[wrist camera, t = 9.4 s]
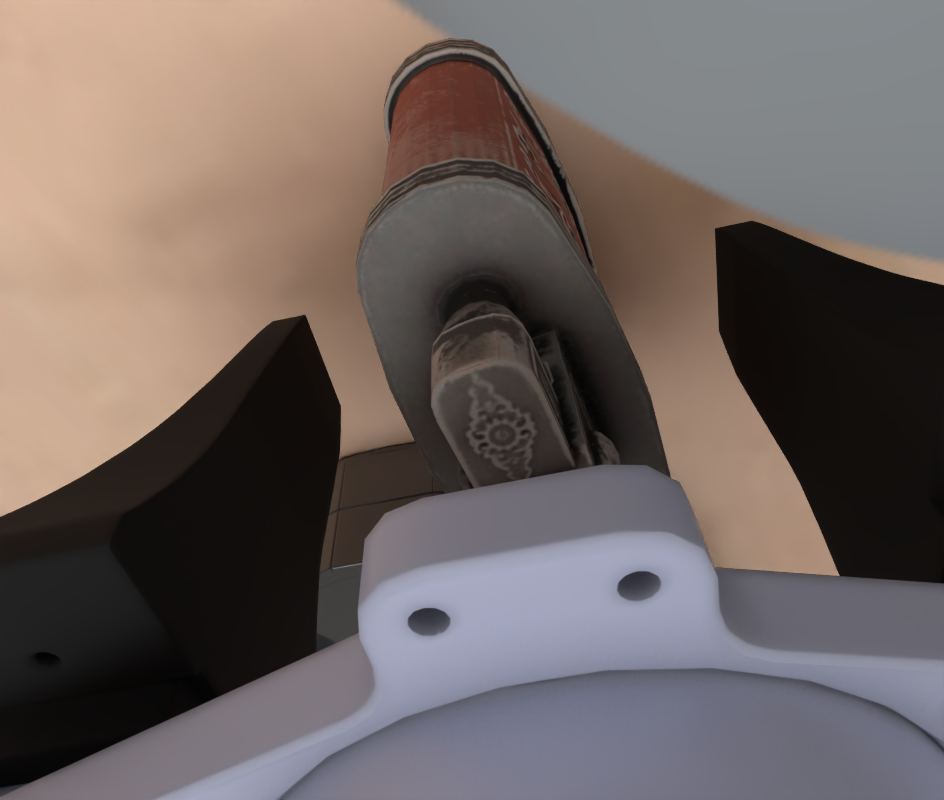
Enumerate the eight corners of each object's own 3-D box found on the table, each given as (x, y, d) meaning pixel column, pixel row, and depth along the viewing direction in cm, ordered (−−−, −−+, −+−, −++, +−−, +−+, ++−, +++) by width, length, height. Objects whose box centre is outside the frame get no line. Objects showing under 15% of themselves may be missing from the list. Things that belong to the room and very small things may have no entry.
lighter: (347, 80, 16) (255, 354, 8) (508, 7, 15) (594, 222, 7) (497, 388, 20) (539, 767, 12) (626, 342, 20) (762, 711, 11)
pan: (672, 391, 20) (716, 498, 17) (699, 719, 29) (732, 831, 26) (124, 497, 22) (70, 615, 19) (304, 780, 30) (289, 894, 27)
